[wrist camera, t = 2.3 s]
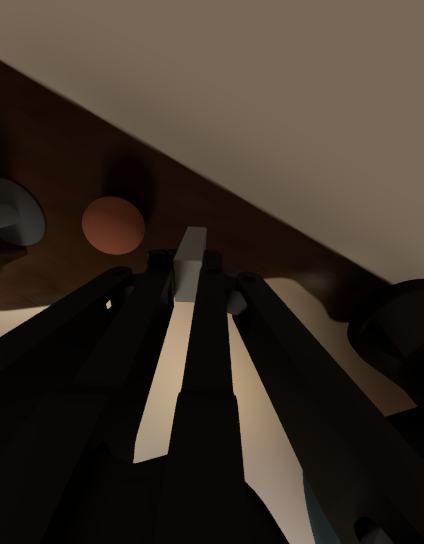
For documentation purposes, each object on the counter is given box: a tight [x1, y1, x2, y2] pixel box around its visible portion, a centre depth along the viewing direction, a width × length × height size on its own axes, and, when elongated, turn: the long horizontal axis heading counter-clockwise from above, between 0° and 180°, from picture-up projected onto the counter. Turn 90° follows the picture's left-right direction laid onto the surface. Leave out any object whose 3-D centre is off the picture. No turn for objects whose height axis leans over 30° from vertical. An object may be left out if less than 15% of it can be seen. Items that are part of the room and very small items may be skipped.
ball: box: [82, 197, 145, 255], centre depth 21 cm, size 6×6×6 cm
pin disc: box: [0, 178, 46, 246], centre depth 24 cm, size 8×8×1 cm
